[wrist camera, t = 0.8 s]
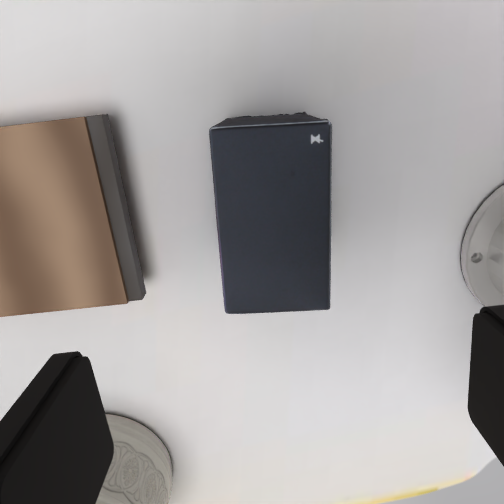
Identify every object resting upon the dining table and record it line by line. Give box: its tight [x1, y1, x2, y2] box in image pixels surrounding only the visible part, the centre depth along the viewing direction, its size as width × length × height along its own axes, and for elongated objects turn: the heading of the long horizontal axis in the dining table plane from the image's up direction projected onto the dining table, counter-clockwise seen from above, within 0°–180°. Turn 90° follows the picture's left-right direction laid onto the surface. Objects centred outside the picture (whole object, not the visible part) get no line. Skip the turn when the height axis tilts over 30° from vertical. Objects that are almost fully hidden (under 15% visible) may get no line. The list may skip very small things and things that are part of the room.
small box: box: [209, 112, 332, 314], centre depth 27 cm, size 11×6×10 cm, turn 3°
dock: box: [0, 114, 146, 317], centre depth 31 cm, size 15×13×4 cm
